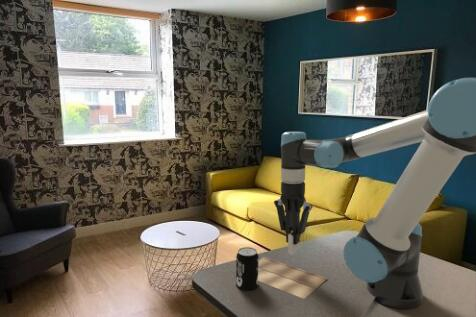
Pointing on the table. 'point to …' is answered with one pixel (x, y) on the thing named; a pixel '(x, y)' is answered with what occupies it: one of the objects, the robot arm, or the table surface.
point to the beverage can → (247, 269)
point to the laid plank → (284, 284)
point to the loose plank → (291, 272)
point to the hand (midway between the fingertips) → (292, 252)
